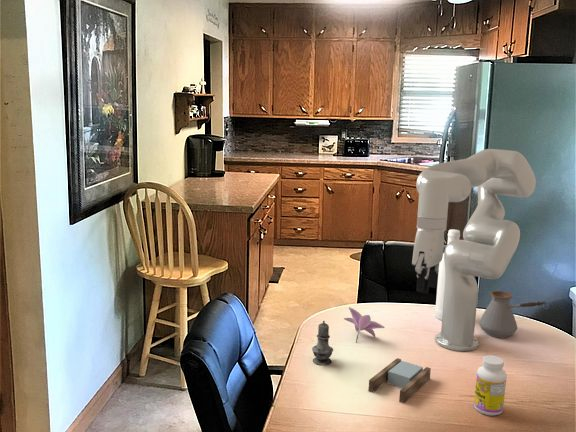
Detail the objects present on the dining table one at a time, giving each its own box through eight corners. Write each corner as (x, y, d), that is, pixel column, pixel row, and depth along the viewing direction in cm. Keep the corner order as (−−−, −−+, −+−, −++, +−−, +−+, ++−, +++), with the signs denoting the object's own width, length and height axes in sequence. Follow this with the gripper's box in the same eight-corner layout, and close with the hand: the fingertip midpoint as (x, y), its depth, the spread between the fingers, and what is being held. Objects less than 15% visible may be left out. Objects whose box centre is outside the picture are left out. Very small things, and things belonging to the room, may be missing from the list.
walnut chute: (396, 368, 164) (397, 358, 163) (429, 378, 158) (430, 368, 158) (368, 391, 151) (369, 380, 150) (403, 403, 145) (404, 391, 145)
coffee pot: (470, 330, 191) (474, 285, 188) (493, 323, 197) (498, 279, 194) (529, 355, 174) (535, 306, 171) (553, 347, 180) (559, 299, 177)
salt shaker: (331, 367, 163) (333, 325, 161) (310, 364, 165) (311, 323, 162) (334, 357, 169) (335, 317, 167) (313, 355, 170) (314, 315, 168)
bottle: (457, 323, 196) (466, 234, 190) (433, 319, 199) (440, 231, 193) (460, 315, 204) (467, 229, 197) (436, 311, 206) (443, 226, 200)
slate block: (401, 372, 162) (401, 360, 161) (421, 379, 158) (422, 367, 158) (387, 383, 156) (388, 371, 155) (408, 390, 152) (409, 378, 151)
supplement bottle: (469, 402, 147) (474, 353, 144) (495, 402, 147) (500, 353, 145) (480, 417, 140) (485, 366, 137) (507, 416, 141) (513, 365, 138)
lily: (386, 348, 179) (391, 316, 181) (356, 340, 173) (362, 307, 175) (360, 346, 188) (365, 316, 191) (331, 338, 183) (336, 307, 185)
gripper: (430, 215, 165) (426, 279, 169) (404, 226, 152) (399, 294, 156) (457, 219, 161) (451, 284, 165) (432, 231, 148) (427, 301, 151)
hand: (426, 289), depth 160 cm, fingers open, 4 cm apart
